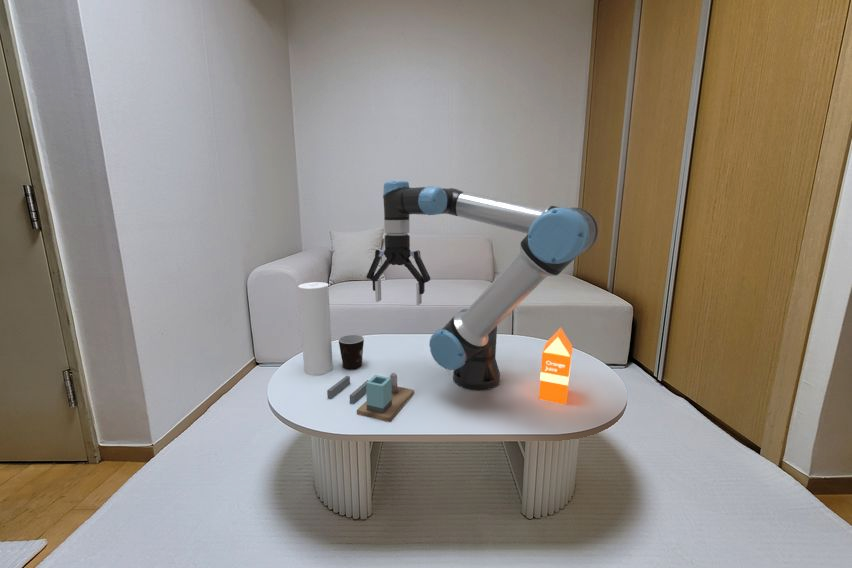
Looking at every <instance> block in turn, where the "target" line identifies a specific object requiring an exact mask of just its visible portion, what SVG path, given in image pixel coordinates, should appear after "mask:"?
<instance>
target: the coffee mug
mask: <svg viewBox="0 0 852 568" xmlns="http://www.w3.org/2000/svg"><path fill="white" fill-rule="evenodd" d="M364 341H365V337H364V336H363V335H359V334H346V335H343V336H341V337H339V338H338V345H339V350H340V356H341V363H342V367H343V369H344V370H347V371H354V370H355V371H356V370H358V369H360V368H362V365H363V364H362V363H363V354H364V353H363V352H364Z"/></svg>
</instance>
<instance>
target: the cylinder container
mask: <svg viewBox="0 0 852 568" xmlns="http://www.w3.org/2000/svg"><path fill="white" fill-rule="evenodd" d="M297 287H298V288H297V289H298V301H299V315H300V327H301V329H300V331H301V343H302V357H303V371H304V373H305V374H306V375H310V376H321V375H322V376H323V375H325V374H328V373H330V372H331V371H332V370H333V369H334V366H333V364H334V363H333V345H332V330H331V311H330V306H331V305H330V290H329V284H328V282H324V281H323V282H322V281H320V282H319V281H317V282H316V281H313V282H305V283H301V284H299V285H298V286H297Z"/></svg>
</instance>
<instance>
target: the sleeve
mask: <svg viewBox="0 0 852 568" xmlns="http://www.w3.org/2000/svg"><path fill="white" fill-rule="evenodd" d="M368 380H369V381H368V382H366V381H365V382H366V393H365V394H366V401H367V410H369V411H373V412H377V413H382V414H384V413H385V412H386V410H387V409H388V408H389V407H390V406H391V405H392V384H391V378H390V377H388V376H383V375H378V374H377V375H376V374H375V375H374V376H372V377H371V378H370V379H368Z"/></svg>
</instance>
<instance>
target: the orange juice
mask: <svg viewBox="0 0 852 568" xmlns="http://www.w3.org/2000/svg"><path fill="white" fill-rule="evenodd" d="M572 354H573V345H572V344H571V342H570V340H569V339H568V337H567V335H566V334H565V332H564V330H563V329H562V327H561V326H560V327H559V328H558V330H557V331H556V332H555V333H554V334H553V335H552V336H551V337H550V338H549V339H548V340H547V341H546V342H545V344H544V347H543V350H542V355H541V365H540V375H539V376H540V377H539V391H538V400H541V401H547V402H552V403H555V402H556V403H557V404H560V403H561V405H565V404H566V405H567V399H568V393H569V384H570V374H571V365H572Z"/></svg>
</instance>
